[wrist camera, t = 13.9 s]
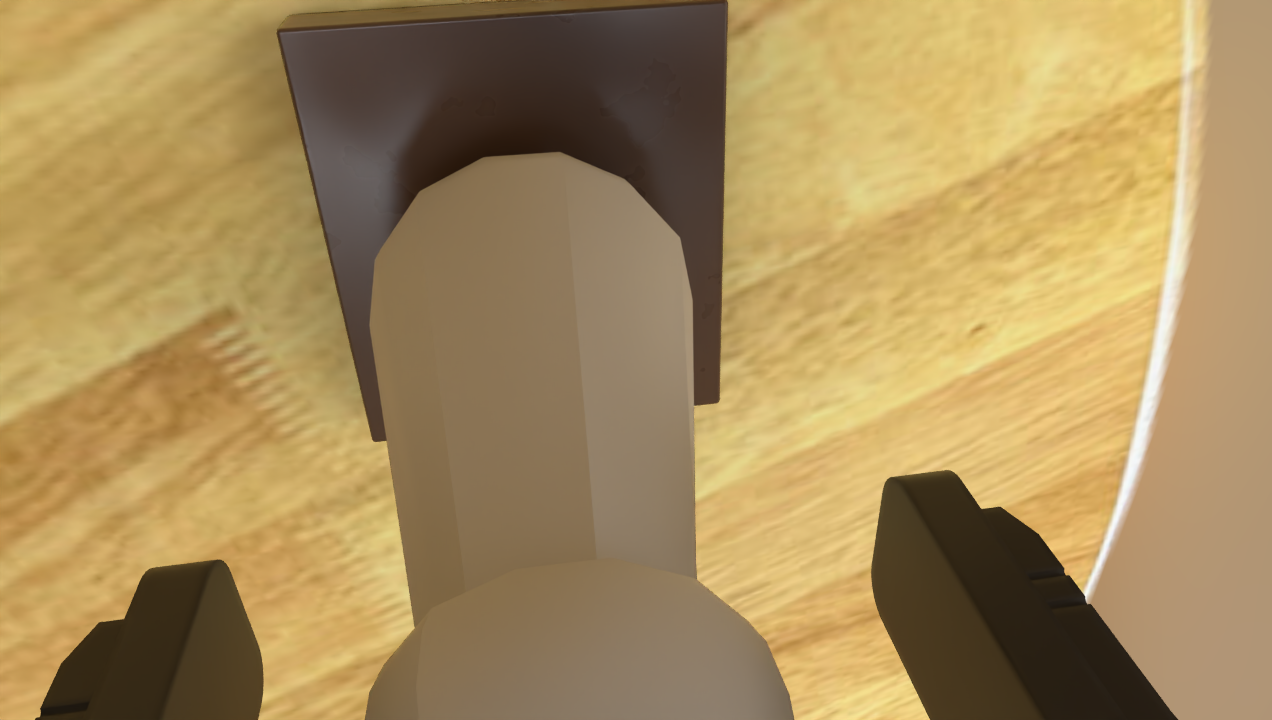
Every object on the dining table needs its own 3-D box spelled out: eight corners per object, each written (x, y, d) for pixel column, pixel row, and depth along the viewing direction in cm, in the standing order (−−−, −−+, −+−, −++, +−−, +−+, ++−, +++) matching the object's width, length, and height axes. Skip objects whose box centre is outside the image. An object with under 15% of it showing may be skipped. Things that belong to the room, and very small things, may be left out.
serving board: (377, 413, 22) (372, 443, 21) (286, 14, 17) (274, 29, 16) (709, 376, 22) (720, 403, 21) (714, -14, 18) (729, -1, 17)
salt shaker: (671, 106, 17) (991, 643, 7) (667, 360, 21) (883, 1009, 10) (356, 123, 17) (142, 756, 6) (401, 382, 20) (315, 1111, 9)
